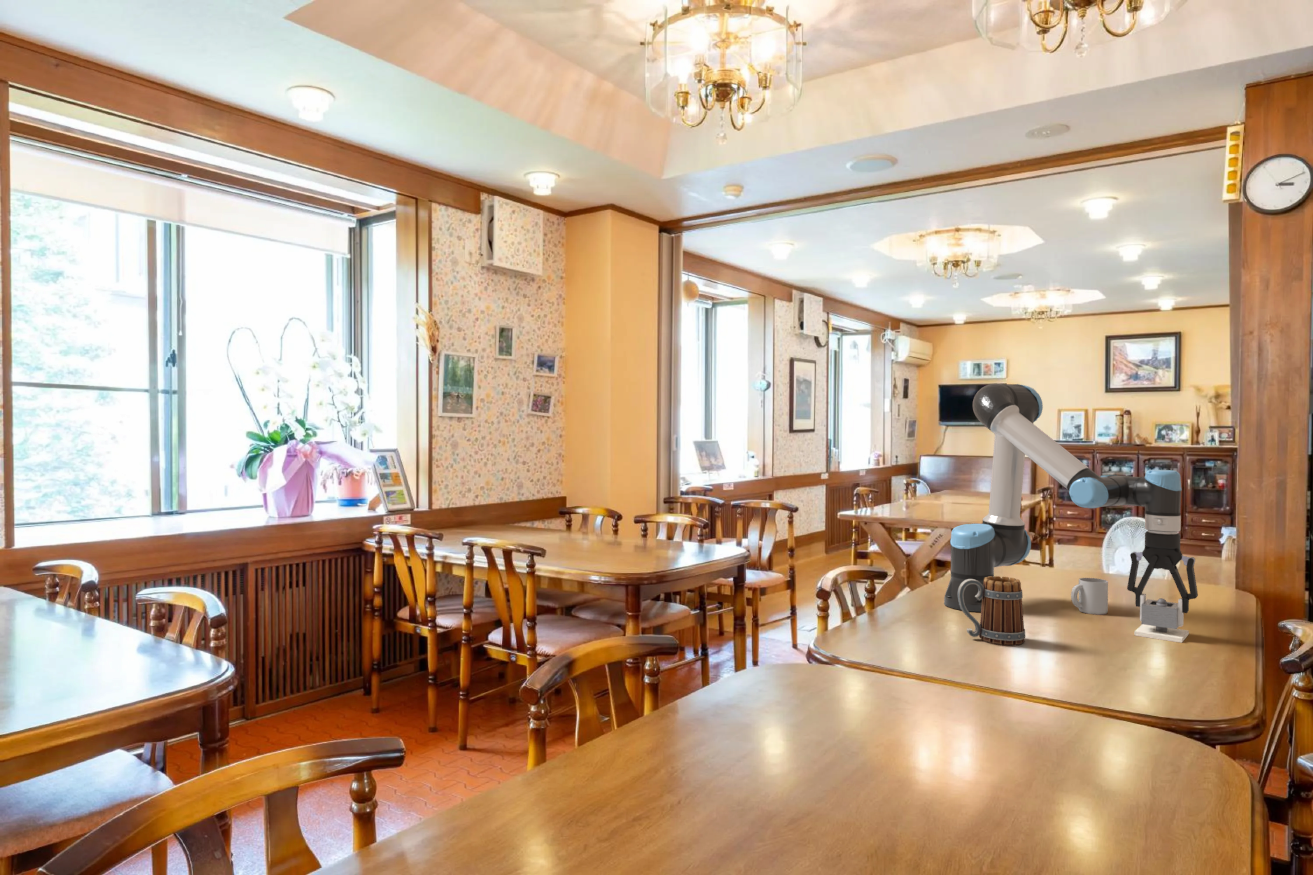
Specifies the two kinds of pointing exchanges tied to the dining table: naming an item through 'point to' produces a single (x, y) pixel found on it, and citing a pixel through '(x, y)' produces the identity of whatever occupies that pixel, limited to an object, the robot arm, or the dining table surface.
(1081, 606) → the cup
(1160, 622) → the grey square storage bin
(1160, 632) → the peg stand
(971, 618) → the mug
